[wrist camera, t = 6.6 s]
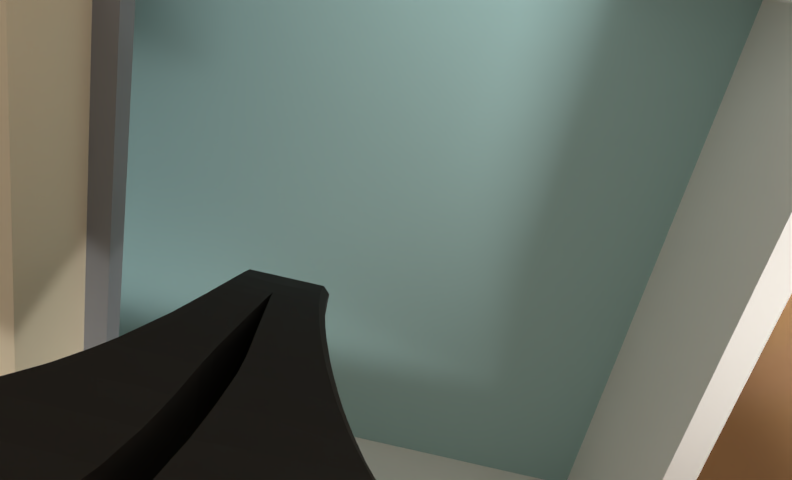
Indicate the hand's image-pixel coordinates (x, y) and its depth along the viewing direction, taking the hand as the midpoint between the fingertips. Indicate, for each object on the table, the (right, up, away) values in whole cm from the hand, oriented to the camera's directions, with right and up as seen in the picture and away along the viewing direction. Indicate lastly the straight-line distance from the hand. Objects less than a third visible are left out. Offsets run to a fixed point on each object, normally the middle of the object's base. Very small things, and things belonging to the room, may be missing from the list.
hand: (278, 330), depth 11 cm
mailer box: (0, +3, +6) cm, 6 cm away
